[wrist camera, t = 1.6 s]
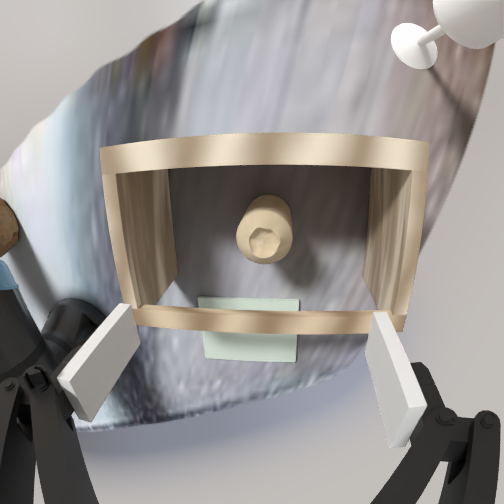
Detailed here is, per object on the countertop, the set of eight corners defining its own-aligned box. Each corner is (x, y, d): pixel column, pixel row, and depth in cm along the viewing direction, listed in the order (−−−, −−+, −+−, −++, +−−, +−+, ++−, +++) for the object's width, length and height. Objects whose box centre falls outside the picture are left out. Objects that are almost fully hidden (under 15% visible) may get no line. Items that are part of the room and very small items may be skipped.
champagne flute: (381, 45, 29) (486, -37, 7) (404, 13, 26) (505, -71, 4) (423, 80, 30) (559, 45, 7) (444, 47, 27) (569, 0, 5)
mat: (206, 356, 47) (205, 358, 47) (198, 296, 43) (197, 297, 43) (295, 360, 46) (295, 362, 45) (298, 299, 42) (298, 300, 41)
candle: (242, 198, 38) (227, 219, 29) (287, 190, 37) (287, 209, 28) (251, 240, 40) (240, 274, 30) (294, 233, 39) (297, 265, 29)
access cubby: (168, 273, 43) (129, 324, 31) (155, 141, 36) (99, 148, 24) (373, 275, 40) (402, 331, 28) (383, 138, 33) (428, 142, 21)
